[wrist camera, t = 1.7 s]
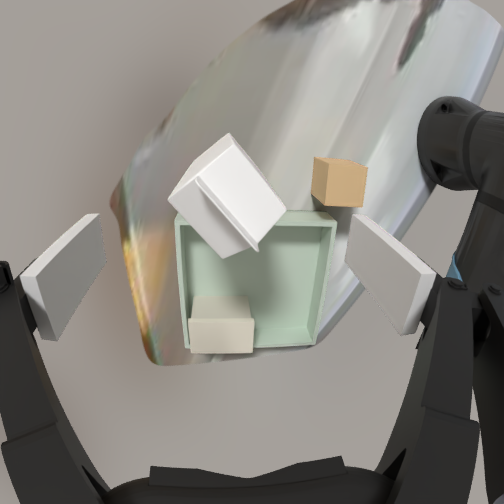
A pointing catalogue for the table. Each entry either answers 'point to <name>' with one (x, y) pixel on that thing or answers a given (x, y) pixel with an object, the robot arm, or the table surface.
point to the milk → (227, 199)
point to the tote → (264, 276)
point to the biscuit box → (338, 182)
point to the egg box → (221, 325)
